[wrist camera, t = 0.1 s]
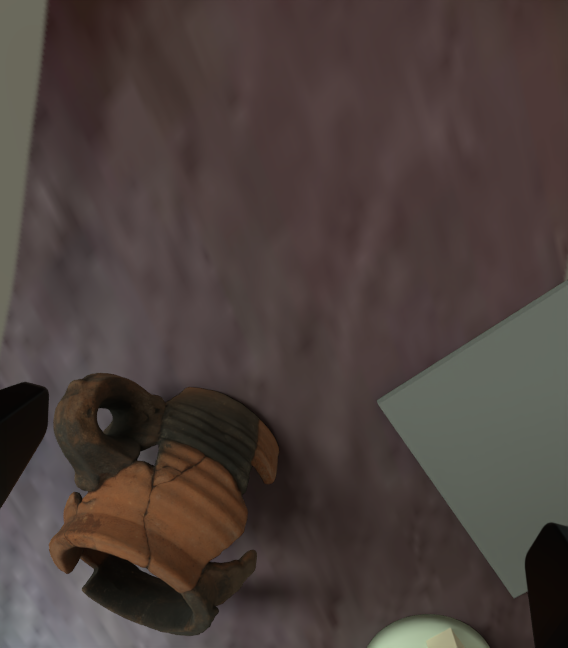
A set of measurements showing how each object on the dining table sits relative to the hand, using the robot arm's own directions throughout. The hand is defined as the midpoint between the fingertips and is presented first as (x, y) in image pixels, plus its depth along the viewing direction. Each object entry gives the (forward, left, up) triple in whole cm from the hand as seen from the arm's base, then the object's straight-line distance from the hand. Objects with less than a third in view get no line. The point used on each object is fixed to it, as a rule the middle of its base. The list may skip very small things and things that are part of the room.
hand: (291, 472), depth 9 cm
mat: (+7, -11, -15) cm, 20 cm away
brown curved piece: (-9, -2, -16) cm, 19 cm away
